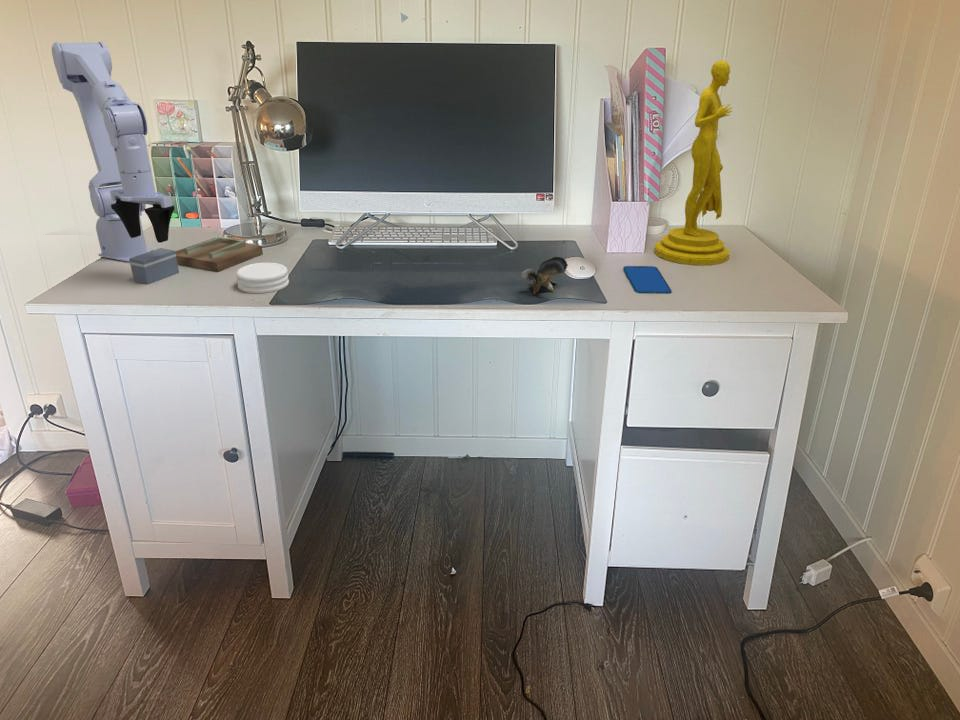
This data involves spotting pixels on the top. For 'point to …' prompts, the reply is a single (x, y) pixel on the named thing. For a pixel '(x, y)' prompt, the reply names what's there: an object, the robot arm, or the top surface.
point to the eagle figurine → (545, 273)
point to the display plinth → (217, 254)
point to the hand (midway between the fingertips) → (149, 239)
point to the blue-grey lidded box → (154, 265)
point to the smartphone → (646, 279)
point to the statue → (702, 185)
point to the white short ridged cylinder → (262, 277)
